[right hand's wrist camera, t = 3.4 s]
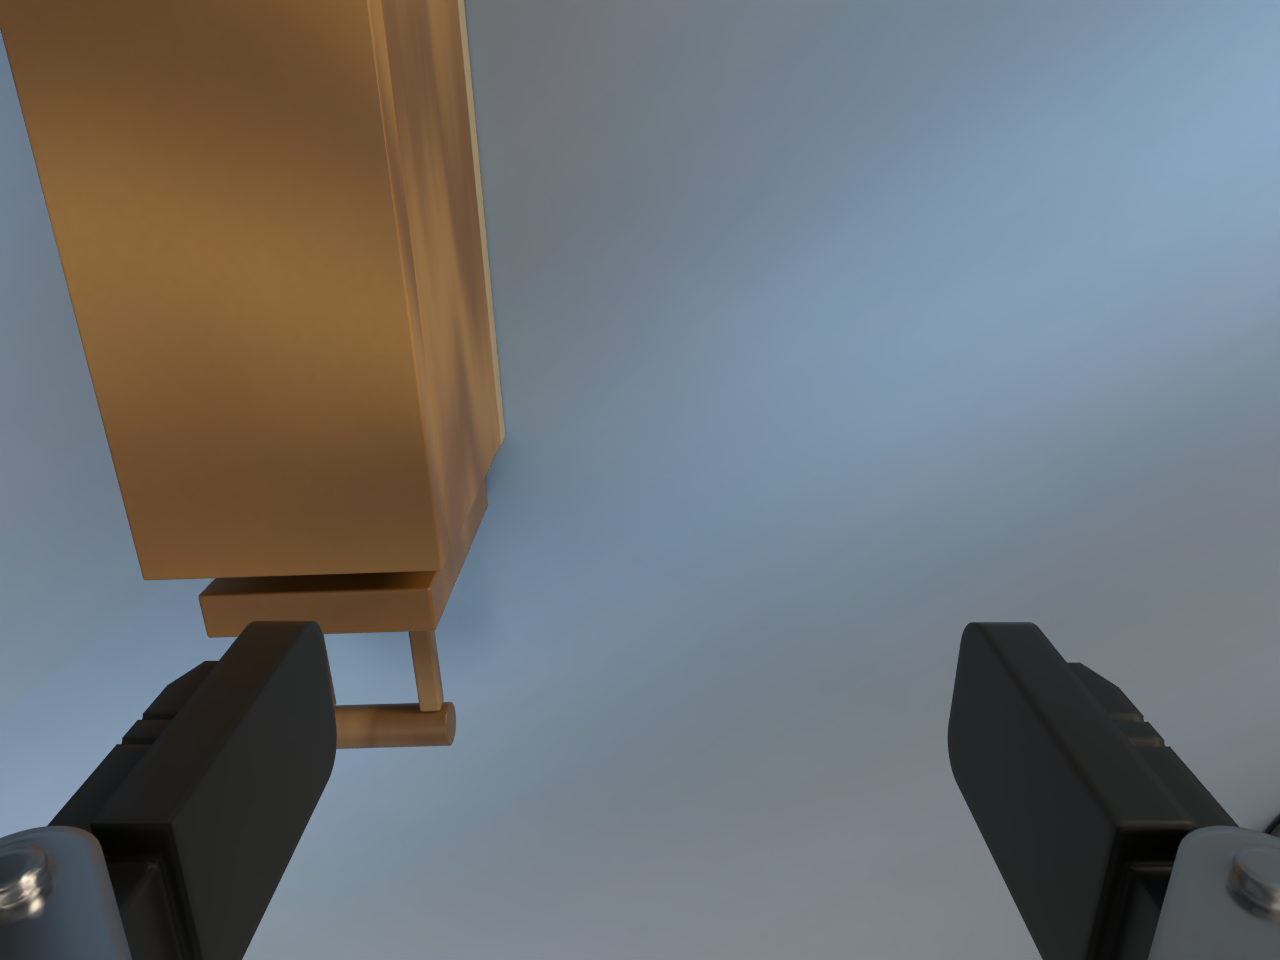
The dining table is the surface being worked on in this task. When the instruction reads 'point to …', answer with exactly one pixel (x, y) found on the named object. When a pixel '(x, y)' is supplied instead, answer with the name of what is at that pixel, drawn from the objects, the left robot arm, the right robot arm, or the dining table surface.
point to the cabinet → (272, 271)
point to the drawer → (361, 610)
